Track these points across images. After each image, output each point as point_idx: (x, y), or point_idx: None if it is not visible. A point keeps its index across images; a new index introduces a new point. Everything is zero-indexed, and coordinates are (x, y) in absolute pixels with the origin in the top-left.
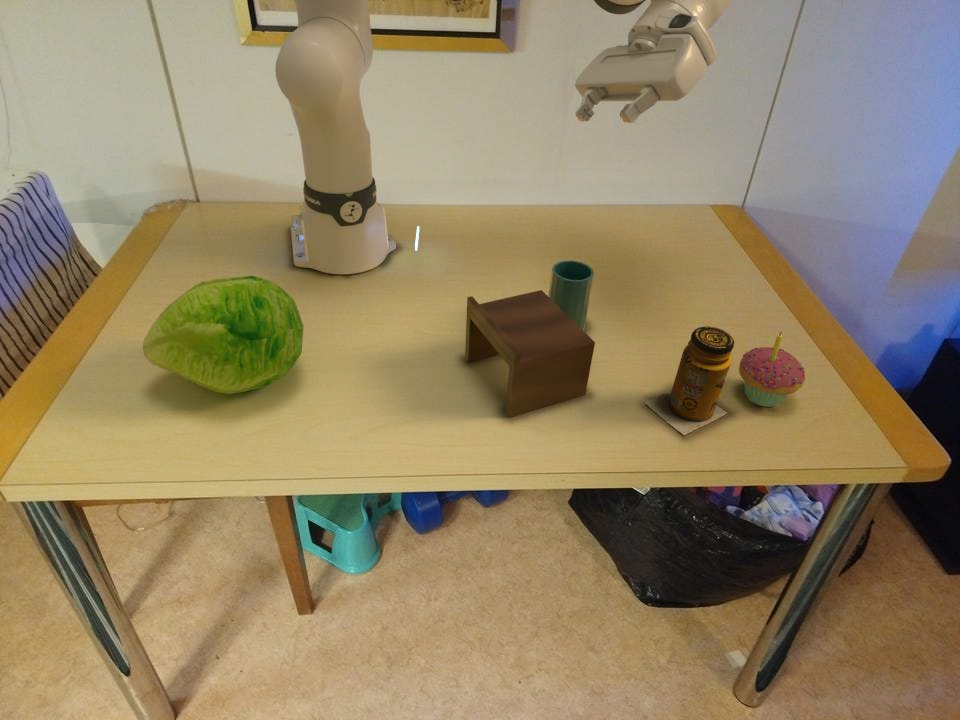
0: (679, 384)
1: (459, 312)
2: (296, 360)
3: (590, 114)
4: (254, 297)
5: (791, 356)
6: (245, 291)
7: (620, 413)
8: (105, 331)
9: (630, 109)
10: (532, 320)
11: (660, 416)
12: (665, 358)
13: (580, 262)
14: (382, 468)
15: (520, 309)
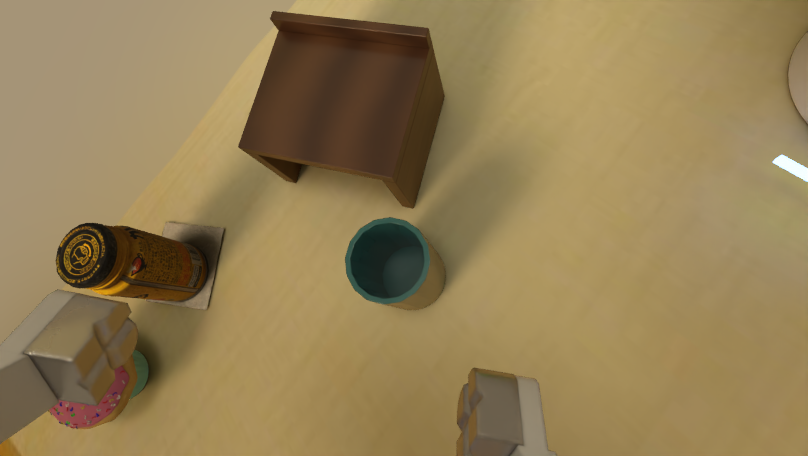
0: (164, 237)
1: (552, 156)
2: None
3: (460, 436)
4: None
5: (56, 407)
6: None
7: (237, 191)
8: None
9: (30, 315)
10: (335, 104)
11: (200, 226)
12: (257, 338)
13: (399, 298)
14: None
15: (370, 108)
